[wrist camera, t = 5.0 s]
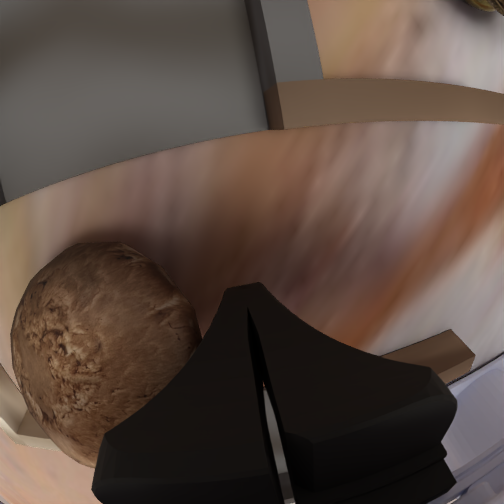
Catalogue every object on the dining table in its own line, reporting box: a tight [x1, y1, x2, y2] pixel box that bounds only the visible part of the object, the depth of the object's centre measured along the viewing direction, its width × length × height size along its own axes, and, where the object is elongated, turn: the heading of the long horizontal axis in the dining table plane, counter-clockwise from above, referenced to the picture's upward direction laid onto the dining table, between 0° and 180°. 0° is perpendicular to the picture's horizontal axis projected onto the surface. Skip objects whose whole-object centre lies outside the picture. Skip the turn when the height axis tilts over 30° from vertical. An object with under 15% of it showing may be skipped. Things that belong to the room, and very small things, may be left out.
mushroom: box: [10, 242, 202, 468], centre depth 9 cm, size 8×8×6 cm
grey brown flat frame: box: [0, 0, 504, 504], centre depth 10 cm, size 33×26×2 cm
